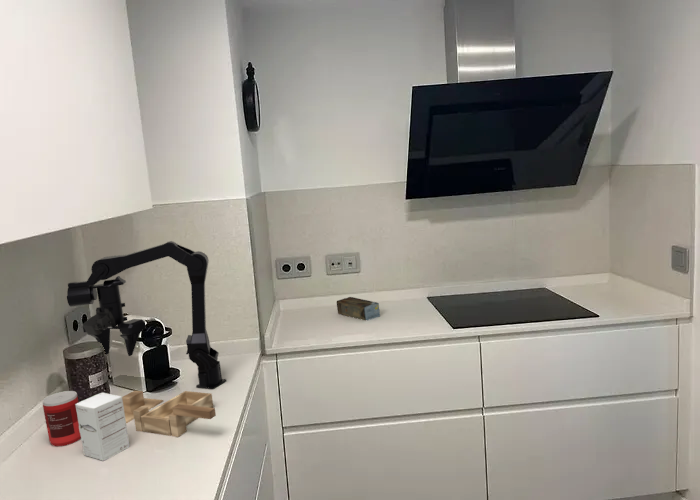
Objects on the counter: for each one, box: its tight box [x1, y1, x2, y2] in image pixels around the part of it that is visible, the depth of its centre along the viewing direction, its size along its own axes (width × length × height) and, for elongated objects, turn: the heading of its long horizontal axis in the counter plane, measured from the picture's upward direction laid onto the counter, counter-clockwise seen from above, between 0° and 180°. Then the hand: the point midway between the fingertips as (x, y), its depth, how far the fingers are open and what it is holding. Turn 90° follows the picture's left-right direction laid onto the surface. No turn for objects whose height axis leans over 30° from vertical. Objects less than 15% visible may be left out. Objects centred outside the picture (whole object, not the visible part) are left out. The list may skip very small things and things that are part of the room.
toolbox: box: [133, 390, 215, 438], centre depth 141 cm, size 16×14×5 cm
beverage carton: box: [336, 296, 381, 321], centre depth 227 cm, size 8×19×7 cm, turn 38°
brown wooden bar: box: [172, 404, 217, 420], centre depth 130 cm, size 2×11×2 cm, turn 65°
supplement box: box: [75, 392, 130, 462], centre depth 127 cm, size 7×7×13 cm
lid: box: [122, 390, 164, 424], centre depth 149 cm, size 16×9×5 cm, turn 157°
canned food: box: [42, 390, 81, 447], centre depth 136 cm, size 8×8×11 cm
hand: (118, 354), depth 158 cm, fingers open, 9 cm apart
